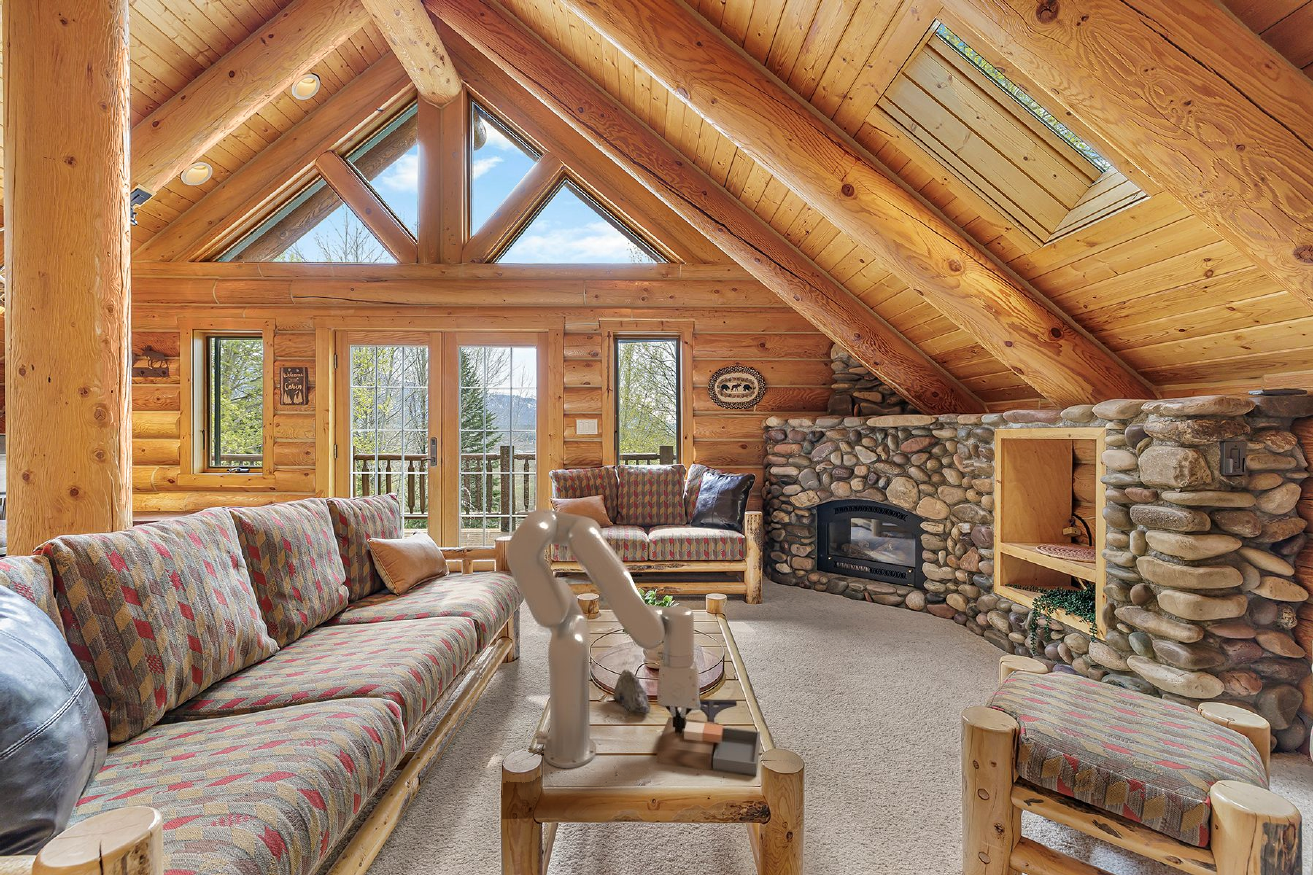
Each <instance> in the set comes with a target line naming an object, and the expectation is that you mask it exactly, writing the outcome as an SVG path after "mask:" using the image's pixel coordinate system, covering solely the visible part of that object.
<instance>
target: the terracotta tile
mask: <svg viewBox="0 0 1313 875" xmlns="http://www.w3.org/2000/svg"><path fill="white" fill-rule="evenodd" d="M723 727H724V725H722V724H719V725H716V724H707V723H705V725H704V729H703V737H702V741H708V742H716V743H721V741H722V736H723Z"/></svg>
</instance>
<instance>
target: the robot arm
mask: <svg viewBox="0 0 1313 875" xmlns="http://www.w3.org/2000/svg"><path fill="white" fill-rule="evenodd" d="M550 544H551V545H557V546H562V547H567V549H568V551H569V552H570V554H571V555H572V557H573V558H574V559H575V561H576V562H577V563H578V564H579V566H580V567H581V568H582V570H583V571H584V572H585V573H586V575H587V577H588V578H589V579H590V580H591V581H592V582H593V584H594V585H595V587H596V588H597V589H598V591H599V592H600V594H601V596H602V598H603V600H604V601H605V603H606V604H607V605H608V607H609V608H610V610H611V611H612V613H613V615H614V616H615V618H616V619H617V621H618V623H619V624H620V625H621V626H622V628H623V630H625V632H626V633H627V635H629V637H630V638H631V640H633V642H634V643H635V644H636V645H637V646H638V647H639V648H641V649H645V650H653V649H656V648H658V647H660V645H661V644H663V650H661V651H658V652H657V657H658V658H661V659H662V660H661V662H659V670H658V676H657V677H658V678H657V691H656V692H657V693H656V697H657V706H658V707H661V708H665V709H666V710H668V712H669V713H670V715H671V716H670V717H673V727H675V733H677V732H679V733H682V730H683V728H684V729H685V727H686V719H687V717H686V716H687V715H688V714H689V713H690V712H692V711H700V710H701V709H700V707H701V704H700V700H699V699H701V698H700V697H701V689H700V688H701V685H700V677H699V676H700V675H699V669H698V668H699V667H698V664H697V662H696V661H695V621H694V620H695V617H694V616H695V615H694V614H695V613H694V611H693V610H692V608H690V607H688V606H684V605H672V606H661V605H655V604H646V602H645V601H644V599H643V598H642V596H641V594H640V593H639V591H638V589H637V587H636V585H635V582H634V579H633V577H632V575H631V572H630V570H629V569H628V567H627V566H626V564H625V563H624V561H622V559H621V558H620V556H619V555H618V554H617V553H616V551H615V550H614V549H613V548H612V546H611V545H610V544H609V542H608V541H607V540H606V538H605V536H604V535H603V531H602V529H601V525H600V524H599V523H598V521H596V520H595V519H593V518H590V517H587V516H585V515H584V516H583V515H577V514H573V513H566V512H561V511H556V510H550V509H544V508H541V509H536V510H533V511H531V512H530V513H528V514H527V515H526V517H525V518H524V519H523V520H522V522H520V524H519V526H518V527H517V528H516V530H515V531H514V533H513V534H512V536H511V537H510V540H509V542H508V543H507V547H506V562H507V564H508V567H509V570H510V572H511V574H512V577H513V578H514V580H515V582H516V585H517V586H518V589H519V591H520V593H521V595H522V597H523V599H524V601H525V603H526V604H527V607H528V609H529V611H530V613H531V615H532V618H533V619H534V621H535V622H536V623H537V625H539V626H540V627H542V628H545V629H549V631H550V632H551V637H550V640H549V645H548V651H547V652H548V655H547V658H548V659H547V660H548V662H547V663H548V671H549V672H548V673H549V706H550V707H549V709H550V711H549V712H550V714H549V716H550V718H549V720H550V722H549V724H550V725H549V726H550V730H549V731H544V730H537V731H536V732H535V739H536V744H537V745H541V746H542V745H544V746H545V748H544V755H543V756H544V759H545V761H546V762H547V763H548V764H550V765H551V766H553V767H557V768H562V769H573V768H578V767H580V766H584V765H586V764H588V763H589V762H590V761H592V760H593V759H594V758H595V757H596V753H597V745H596V743H595V741H594V740H593V739H591V737H590V735H591V733H590V732H591V731H590V728H591V727H590V726H591V725H590V724H591V723H590V722H591V721H590V720H591V719H590V714H591V713H590V640H591V639H590V638H591V629H590V625H589V622H588V620H587V617H586V616H585V613H584V612H583V610H582V608H581V606H580V604H579V602H578V599H577V598H576V595H575V593H574V592H573V590H572V588H571V587H570V586H569V584H568V583H567V582H566V581H564V579H562V578H560V577H555V575H554V574H553V571H552V568H551V567H550V565H549V563H548V562H547V561H546V559H545V555H544V553H545V551H546V550H547V548H549V546H550ZM662 642H663V643H662ZM679 708H681V709H680V711H679ZM536 734H537V736H536Z"/></svg>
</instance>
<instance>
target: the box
mask: <svg viewBox="0 0 1313 875" xmlns="http://www.w3.org/2000/svg"><path fill="white" fill-rule="evenodd" d="M760 745H761V731H759V730H750V729H740V728H732V727H724V726H723V736H722V741H721V743H717V744H716V748H715V752H714V756H713V764H712V772H713V771H714V772H720V773H721V772H722V773H727V774H728V773H729V774H735V775H744V776H750V777H757V772H758V766H759V757H760V756H759V755H760V748H761V746H760Z"/></svg>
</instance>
